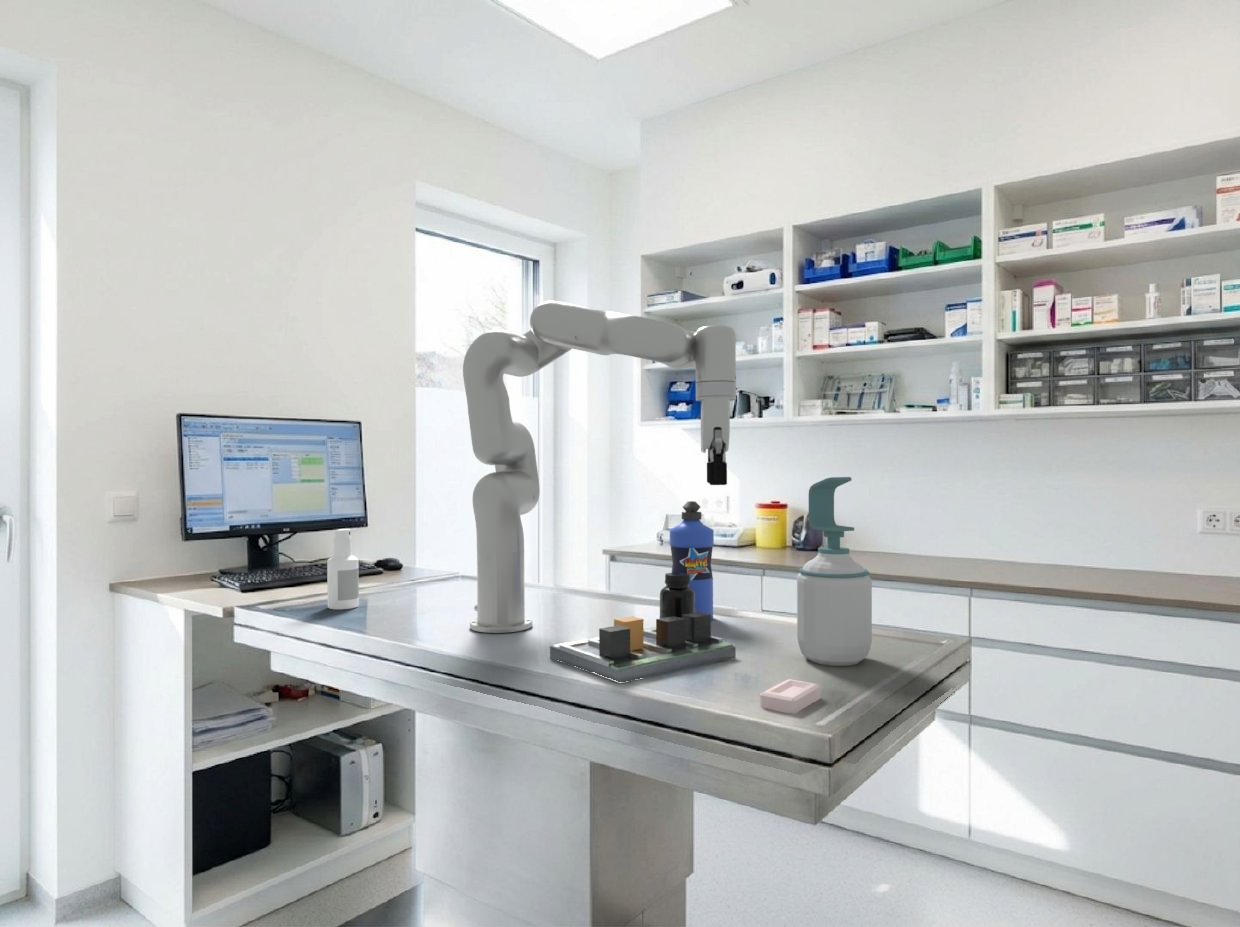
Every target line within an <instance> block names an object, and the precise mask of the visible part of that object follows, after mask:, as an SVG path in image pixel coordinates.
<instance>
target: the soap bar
mask: <svg viewBox="0 0 1240 927" xmlns="http://www.w3.org/2000/svg"><path fill="white" fill-rule="evenodd" d="M820 699H821V686H820V685H819V684H818V683H813V682H807V681H803V680H797V679H796V680H795V679H790V678H788V679H786V680H784V681H782V682H780V683H777V684H776V685H774V686H772V687H771V688H770V687H769V688H768V689H767V690H765V691H763V692H761V693H759V707H760V708H763V709H767V708H768V709H767V710H771V709H773V711H777V712H781V713H787V714H791V713H793V714H797V713H798V712H800V711H802V710H804V709H805V708H807V707H808V705H809V706H811V703H812V704H814V703H815V702H817V701H819V700H820ZM813 702H814V703H813ZM803 708H804V709H803ZM801 709H802V710H801Z"/></svg>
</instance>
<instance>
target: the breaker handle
mask: <svg viewBox="0 0 1240 927" xmlns="http://www.w3.org/2000/svg"><path fill="white" fill-rule="evenodd" d="M618 625H619V626H623V627H627V628H630V651H633V650H638V649H643V629H644V619H643V618H640V617H636V616H633V615H631V616H626V617H619V618H614V619H613V626H618Z"/></svg>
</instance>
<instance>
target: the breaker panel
mask: <svg viewBox="0 0 1240 927" xmlns="http://www.w3.org/2000/svg"><path fill="white" fill-rule="evenodd" d="M598 629H599V630H598V632H599V634H598V635H599V636H596V637H592V638H591V637H590V638H585V639H579V640H573V641H568V642H563V643H561V642H560V643H556V644H555V643H554V644H551V646H549V658H550V659H551V660H555V661H557V660H559V661H558V662H560V661H562V662H564V663H563V664H565V663H566V665H568V664H569V665H568V666H570V665H572V667H573V666H576V667H578V668H577V669H579V668H581V669H584V670H587V671H589V672H595V673H597V674H599V675H602V676H604V677H607V678H611V679H613V680H616V681H618V682H626V681H631V680H635V679H640V678H645V679H648V678H652V677H657V676H663V675H665V674H671V673H674V672H675V673H676V672H680V671H685V670H689V669H693V668H694V669H695V668H696V667H697V668H698V667H702V666H706V665H711V664H716V663H719V662H725V661H729V660H733V659H736V657H737V656H736V655H737V654H736V645H735V646H734V644H733V643H731V642H725V641H724V638H723V637H722V638H721V637H718V636H713V635H712V621H711V614H706V613H702V612H695V613H690V614H684V615H682V618H679V617H675V616H672V617H666V618H660V617H659V618H656V619H655V626H654V627H648V628H643V649H638V650H633V651H630V628H627V627H623V626H619V625H618V626H614V625H613V626H608V627H602V628H598ZM562 662H561V663H562ZM576 667H575V668H576ZM581 669H580V670H581ZM584 670H583V671H584ZM587 671H586V672H587ZM589 672H588V673H589ZM640 680H641V679H640ZM631 682H632V681H631Z"/></svg>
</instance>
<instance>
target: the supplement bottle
mask: <svg viewBox="0 0 1240 927" xmlns="http://www.w3.org/2000/svg"><path fill="white" fill-rule="evenodd" d="M664 575H665V576H664V577H665V578H664V584H666V585H665V586H664V587H663V588H662V589H661V590H660V592H659V619H660V618H666V617H672V616H675V617H679V618H682V615H684V614H690V613H695V592H694V590H693V589H692V588H690V587H689V584H690V574H688V573H672V572H667V573H665V574H664Z"/></svg>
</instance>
